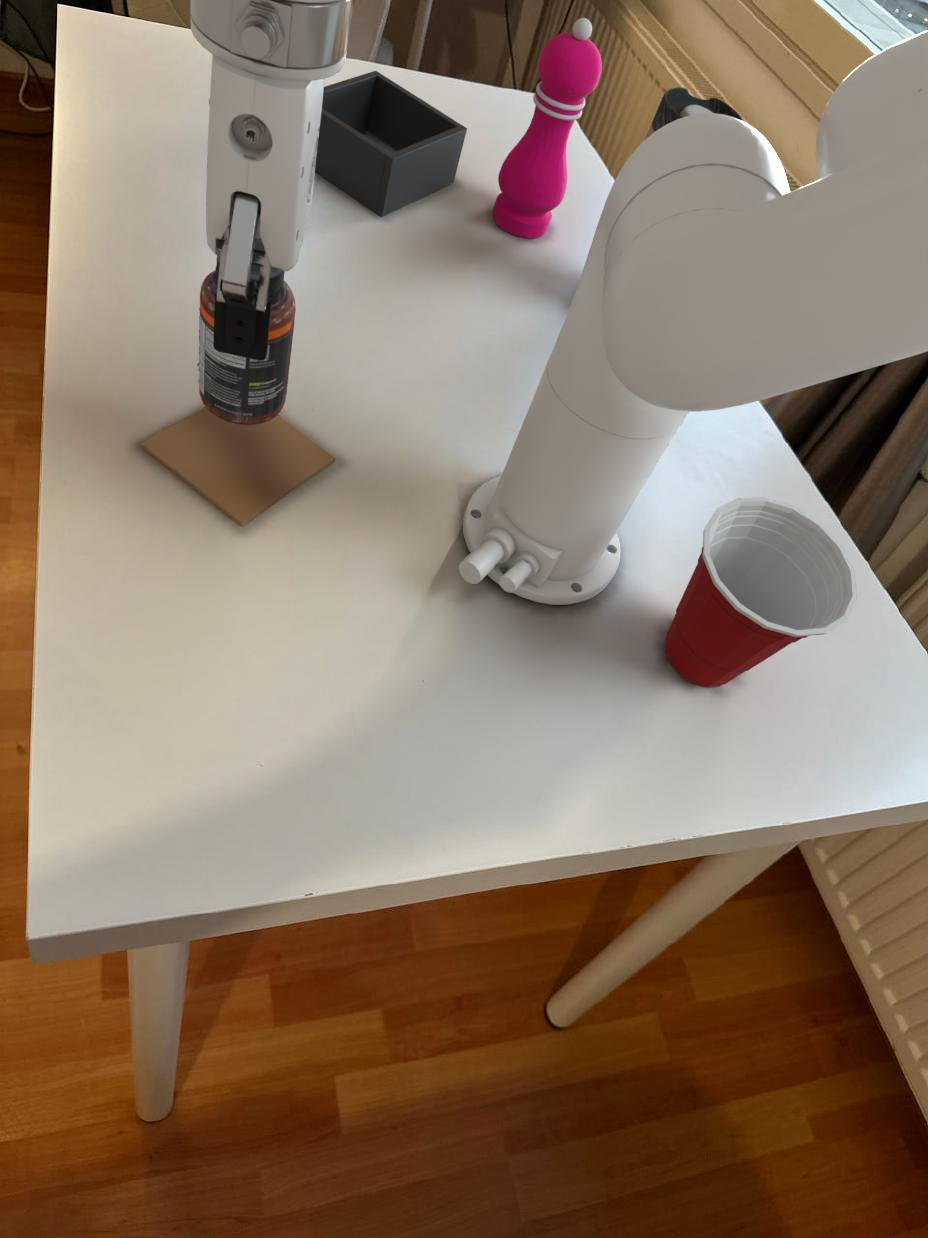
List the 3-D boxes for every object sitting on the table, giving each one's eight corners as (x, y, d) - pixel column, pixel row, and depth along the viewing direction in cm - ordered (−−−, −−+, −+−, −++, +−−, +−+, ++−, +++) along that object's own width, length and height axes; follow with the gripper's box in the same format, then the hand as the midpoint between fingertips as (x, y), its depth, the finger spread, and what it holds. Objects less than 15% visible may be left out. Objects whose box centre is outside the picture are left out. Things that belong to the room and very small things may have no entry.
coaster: (241, 526, 62) (242, 522, 62) (141, 447, 64) (141, 443, 64) (335, 461, 68) (335, 457, 68) (240, 390, 70) (240, 386, 69)
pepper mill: (552, 248, 94) (626, 46, 78) (487, 231, 93) (549, 22, 77) (550, 212, 98) (619, 14, 82) (488, 195, 97) (546, -9, 81)
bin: (381, 216, 89) (392, 159, 84) (289, 154, 91) (295, 95, 87) (453, 182, 96) (467, 128, 92) (366, 126, 99) (375, 69, 94)
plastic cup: (616, 681, 63) (692, 580, 53) (648, 578, 69) (721, 472, 60) (754, 745, 62) (856, 656, 53) (773, 635, 69) (866, 539, 60)
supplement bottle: (241, 359, 64) (251, 216, 55) (302, 405, 63) (322, 266, 54) (179, 393, 60) (178, 245, 52) (242, 442, 59) (253, 299, 50)
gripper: (329, 114, 38) (289, 423, 52) (364, -34, 48) (323, 258, 62) (149, 64, 36) (158, 396, 51) (225, -78, 47) (215, 232, 61)
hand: (249, 317), depth 56 cm, fingers closed on supplement bottle, 6 cm apart
